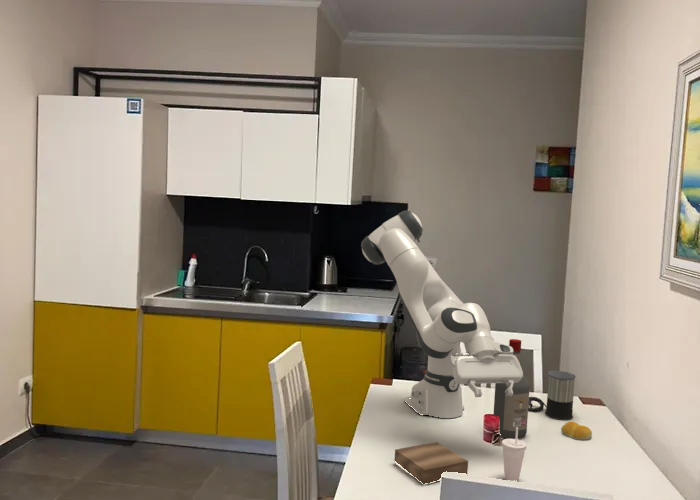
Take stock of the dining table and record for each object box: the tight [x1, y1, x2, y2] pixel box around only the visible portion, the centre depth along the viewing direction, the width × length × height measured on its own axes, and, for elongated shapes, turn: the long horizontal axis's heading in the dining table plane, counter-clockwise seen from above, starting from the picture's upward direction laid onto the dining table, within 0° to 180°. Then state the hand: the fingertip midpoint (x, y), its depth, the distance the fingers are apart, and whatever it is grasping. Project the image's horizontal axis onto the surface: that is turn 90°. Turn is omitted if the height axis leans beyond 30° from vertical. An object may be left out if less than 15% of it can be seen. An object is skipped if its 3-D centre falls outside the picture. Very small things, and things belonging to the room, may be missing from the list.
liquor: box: [493, 338, 531, 440], centre depth 196 cm, size 9×9×30 cm
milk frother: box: [528, 370, 577, 421], centre depth 218 cm, size 14×16×15 cm
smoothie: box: [501, 427, 527, 482], centre depth 164 cm, size 6×6×14 cm
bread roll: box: [560, 421, 593, 441], centre depth 198 cm, size 8×9×4 cm
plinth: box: [394, 441, 469, 485], centre depth 168 cm, size 14×14×4 cm
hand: (494, 395), depth 175 cm, fingers open, 8 cm apart
